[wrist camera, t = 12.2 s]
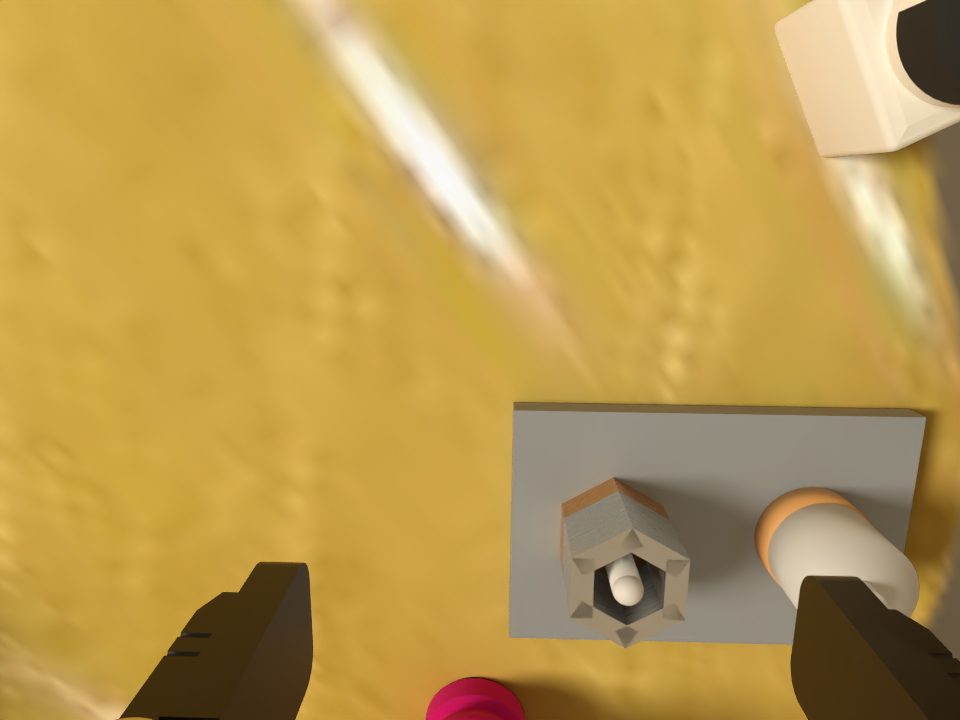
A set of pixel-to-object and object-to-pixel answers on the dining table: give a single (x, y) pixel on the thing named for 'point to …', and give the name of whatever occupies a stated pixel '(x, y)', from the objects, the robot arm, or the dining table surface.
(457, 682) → the pepper mill
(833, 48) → the medicine bottle
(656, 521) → the sleeve
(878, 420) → the pin board
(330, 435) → the dining table surface
